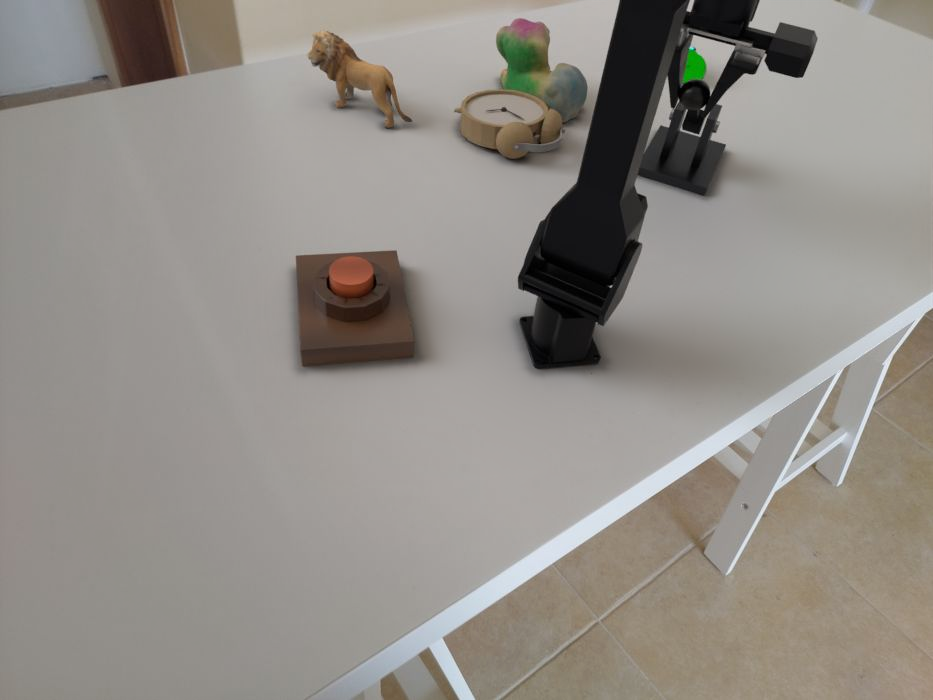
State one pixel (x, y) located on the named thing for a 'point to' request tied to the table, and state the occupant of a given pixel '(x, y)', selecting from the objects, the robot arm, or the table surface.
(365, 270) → the button
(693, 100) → the lever
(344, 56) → the lion figurine
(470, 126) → the alarm clock
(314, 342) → the button block
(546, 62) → the sculpture
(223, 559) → the table surface
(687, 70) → the stick construction toy
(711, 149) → the bracket
